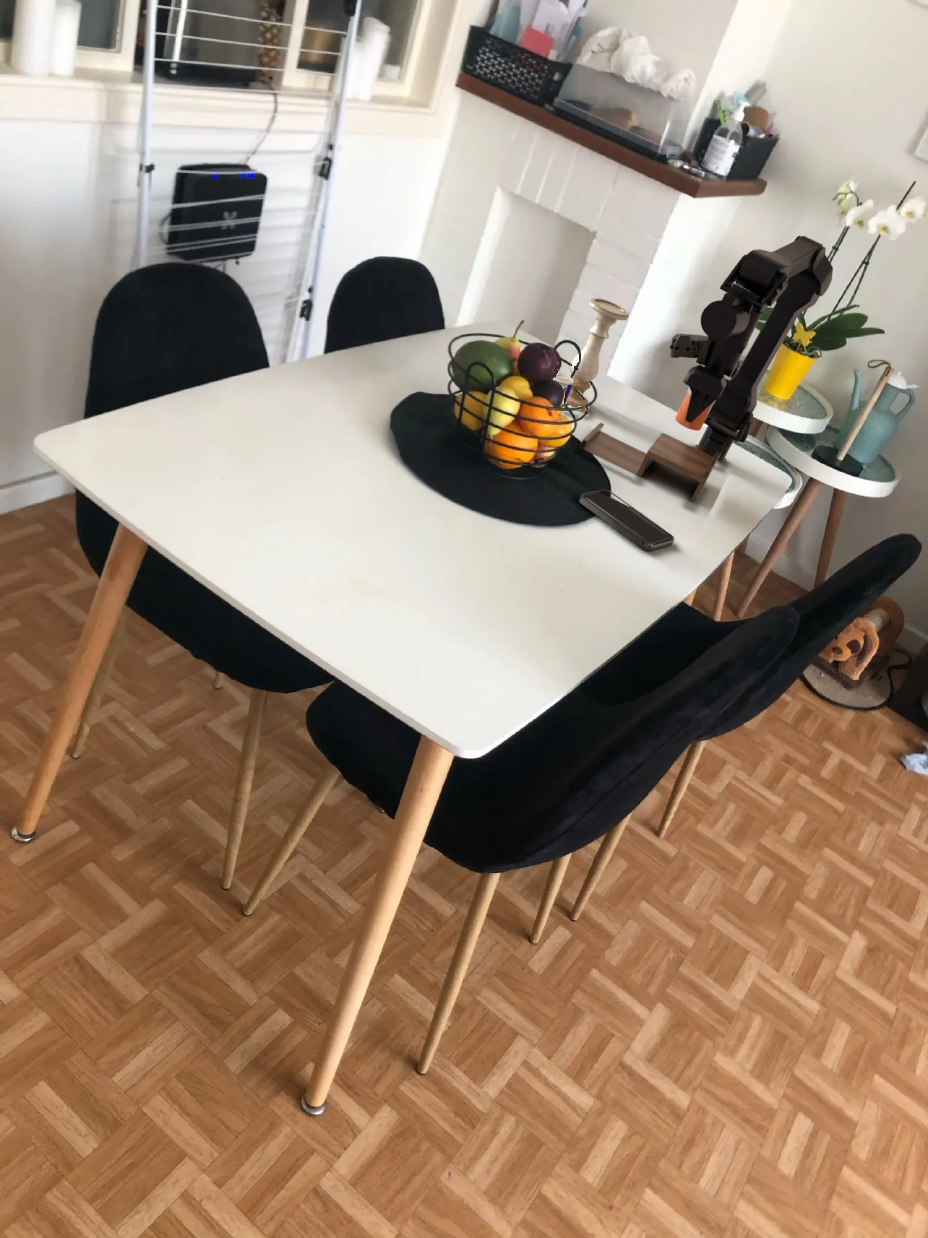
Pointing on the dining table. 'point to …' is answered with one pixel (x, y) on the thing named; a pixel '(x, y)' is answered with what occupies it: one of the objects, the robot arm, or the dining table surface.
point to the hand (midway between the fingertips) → (690, 417)
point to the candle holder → (593, 349)
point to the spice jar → (682, 413)
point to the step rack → (652, 456)
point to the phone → (627, 520)
